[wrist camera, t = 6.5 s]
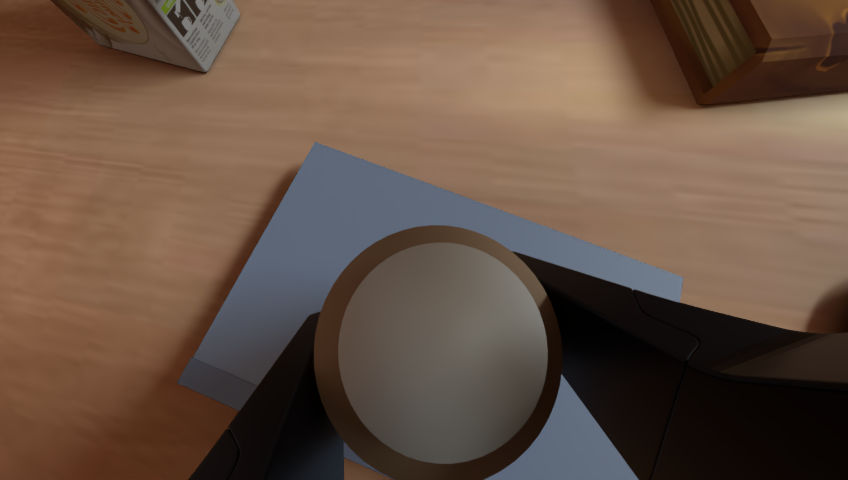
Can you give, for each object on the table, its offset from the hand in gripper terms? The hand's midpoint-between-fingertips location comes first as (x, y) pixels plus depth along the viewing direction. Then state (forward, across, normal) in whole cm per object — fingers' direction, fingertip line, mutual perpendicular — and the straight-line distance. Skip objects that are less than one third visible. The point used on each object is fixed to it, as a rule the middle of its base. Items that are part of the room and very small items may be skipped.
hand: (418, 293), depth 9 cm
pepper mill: (+4, 0, +6) cm, 7 cm away
